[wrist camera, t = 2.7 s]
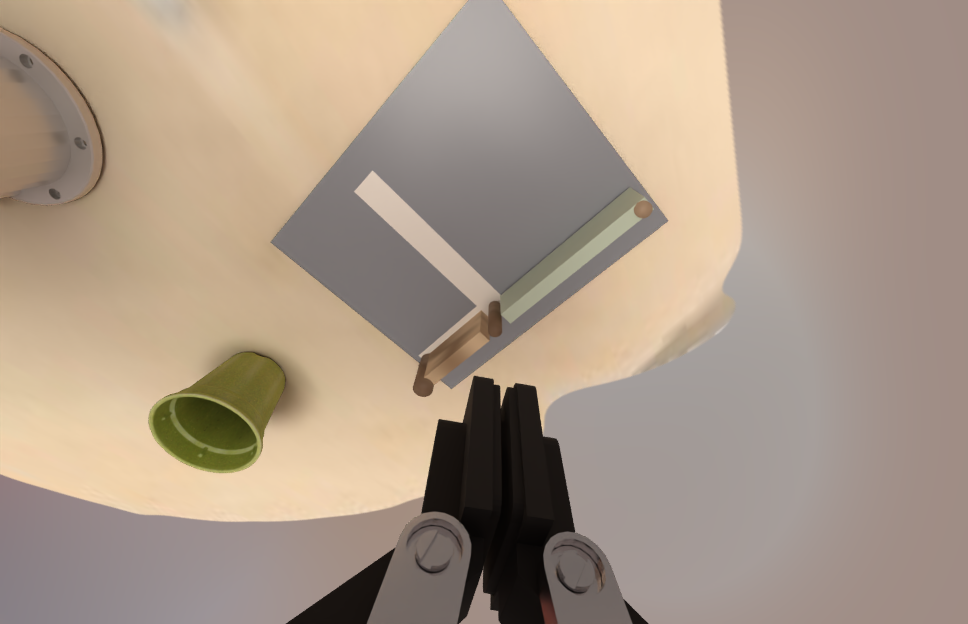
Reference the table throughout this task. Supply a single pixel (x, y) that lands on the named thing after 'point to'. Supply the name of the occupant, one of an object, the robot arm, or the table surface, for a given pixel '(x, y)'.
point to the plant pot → (220, 415)
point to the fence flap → (575, 253)
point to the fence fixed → (457, 348)
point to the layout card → (462, 191)
